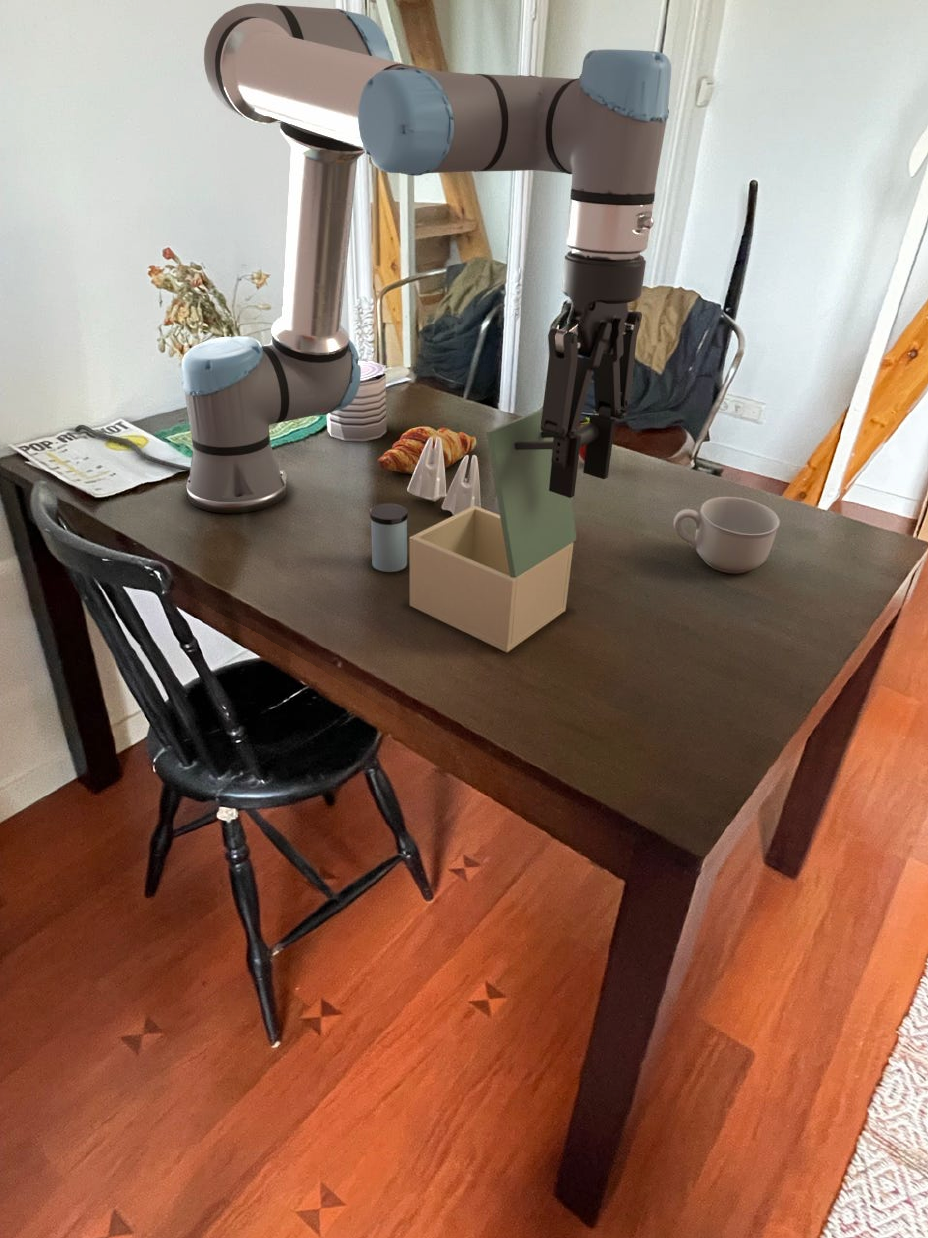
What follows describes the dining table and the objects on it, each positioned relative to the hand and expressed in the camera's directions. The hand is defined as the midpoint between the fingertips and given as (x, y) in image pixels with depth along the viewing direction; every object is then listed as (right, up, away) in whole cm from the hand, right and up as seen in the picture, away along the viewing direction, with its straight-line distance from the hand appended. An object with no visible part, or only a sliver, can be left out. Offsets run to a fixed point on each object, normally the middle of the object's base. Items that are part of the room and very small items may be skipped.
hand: (578, 483), depth 89 cm
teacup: (+24, -7, +30) cm, 39 cm away
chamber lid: (-5, 0, +4) cm, 7 cm away
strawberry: (+10, +12, +58) cm, 61 cm away
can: (-33, +21, +69) cm, 79 cm away
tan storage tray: (-9, -13, +17) cm, 23 cm away
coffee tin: (-23, -7, +26) cm, 35 cm away
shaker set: (-16, +3, +42) cm, 45 cm away
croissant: (-18, +13, +57) cm, 61 cm away
